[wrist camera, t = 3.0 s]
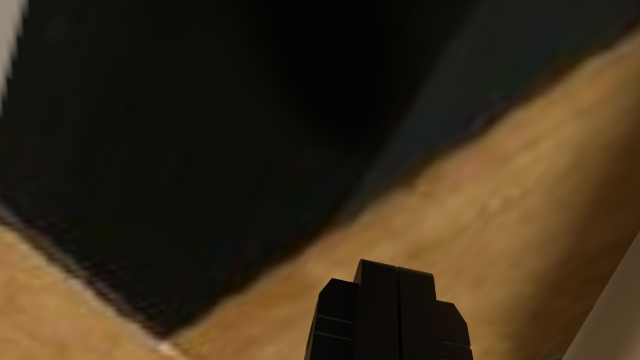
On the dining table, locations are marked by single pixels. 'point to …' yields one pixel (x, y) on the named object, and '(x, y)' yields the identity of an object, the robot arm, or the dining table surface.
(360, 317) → the robot arm
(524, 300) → the dining table surface
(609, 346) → the T block
